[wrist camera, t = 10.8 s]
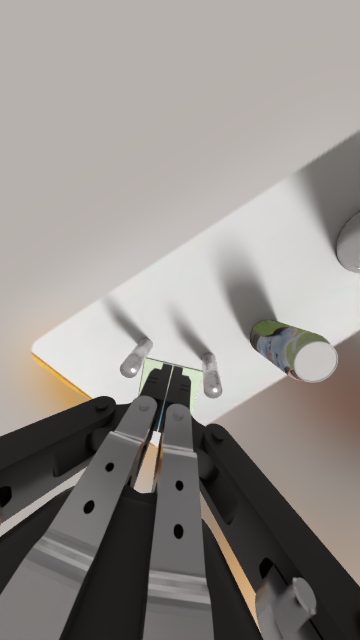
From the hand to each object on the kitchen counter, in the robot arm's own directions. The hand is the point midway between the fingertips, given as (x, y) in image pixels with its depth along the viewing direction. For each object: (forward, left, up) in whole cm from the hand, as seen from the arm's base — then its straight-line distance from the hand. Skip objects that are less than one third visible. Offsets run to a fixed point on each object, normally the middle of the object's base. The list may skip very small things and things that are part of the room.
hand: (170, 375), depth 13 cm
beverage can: (0, +15, -19) cm, 24 cm away
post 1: (+8, -6, -19) cm, 22 cm away
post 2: (+8, +6, -19) cm, 22 cm away
